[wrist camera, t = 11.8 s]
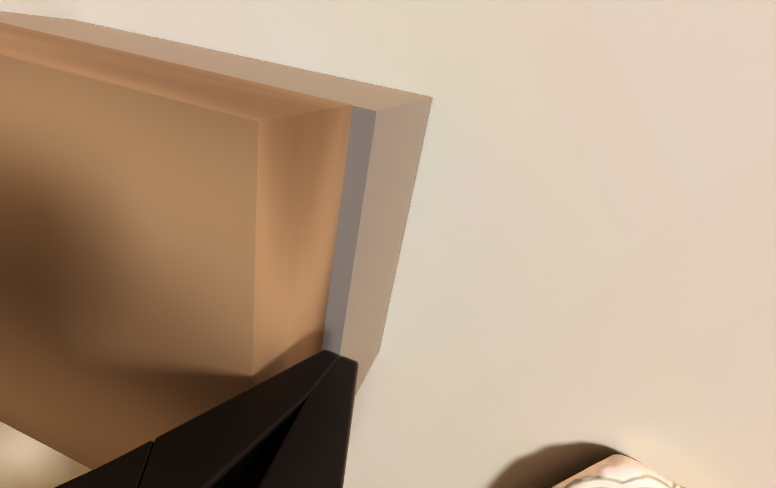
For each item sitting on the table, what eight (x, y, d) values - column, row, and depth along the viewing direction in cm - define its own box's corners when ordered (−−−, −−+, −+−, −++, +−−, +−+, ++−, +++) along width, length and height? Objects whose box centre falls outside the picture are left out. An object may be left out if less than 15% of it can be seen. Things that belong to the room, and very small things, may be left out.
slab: (309, 445, 12) (247, 551, 9) (-58, 283, 15) (-180, 326, 13) (353, 105, 7) (258, 121, 5) (-181, -20, 11) (-410, -51, 8)
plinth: (379, 350, 16) (325, 452, 12) (112, 252, 19) (-11, 305, 15) (432, 97, 12) (376, 111, 7) (74, 20, 15) (-119, -4, 10)
